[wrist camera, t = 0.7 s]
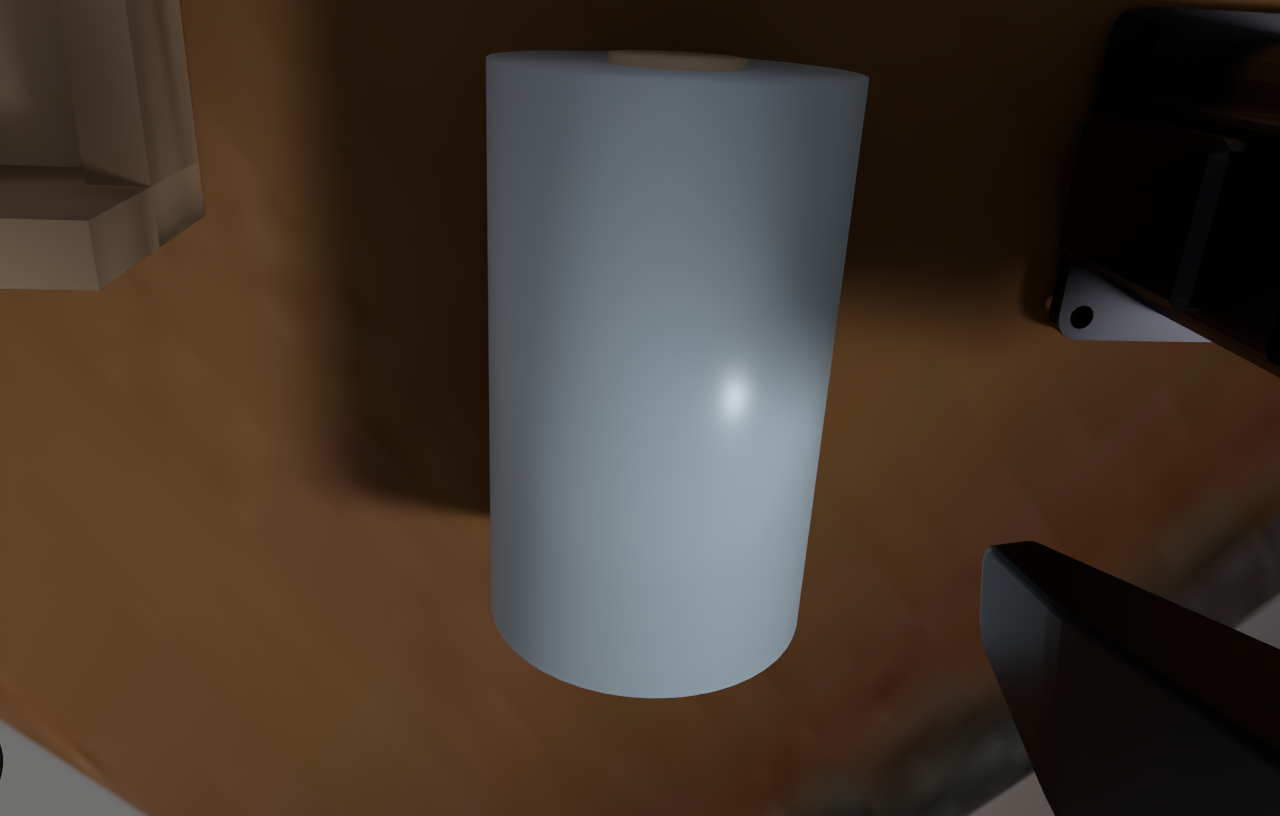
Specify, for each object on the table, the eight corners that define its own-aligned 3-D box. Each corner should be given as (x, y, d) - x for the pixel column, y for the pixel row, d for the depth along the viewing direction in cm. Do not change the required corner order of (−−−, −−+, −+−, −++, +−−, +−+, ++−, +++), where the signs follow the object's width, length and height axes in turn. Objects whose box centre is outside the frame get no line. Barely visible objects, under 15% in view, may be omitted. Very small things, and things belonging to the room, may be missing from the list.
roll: (485, 36, 18) (486, 61, 13) (804, 51, 19) (935, 80, 13) (489, 532, 22) (492, 715, 17) (753, 524, 23) (838, 695, 17)
